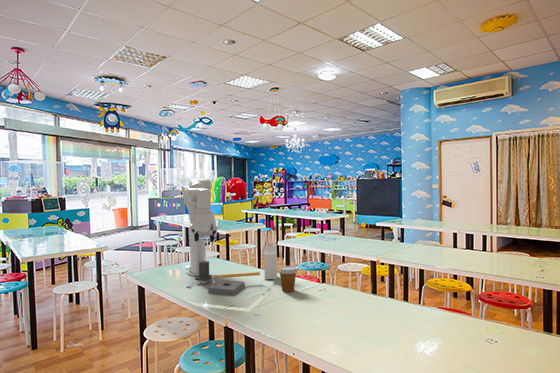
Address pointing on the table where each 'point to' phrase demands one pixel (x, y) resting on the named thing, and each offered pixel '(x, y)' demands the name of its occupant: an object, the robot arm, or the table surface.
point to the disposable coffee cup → (287, 278)
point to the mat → (193, 284)
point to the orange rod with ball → (235, 275)
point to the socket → (226, 287)
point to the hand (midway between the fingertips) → (204, 241)
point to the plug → (204, 272)
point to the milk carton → (270, 262)
